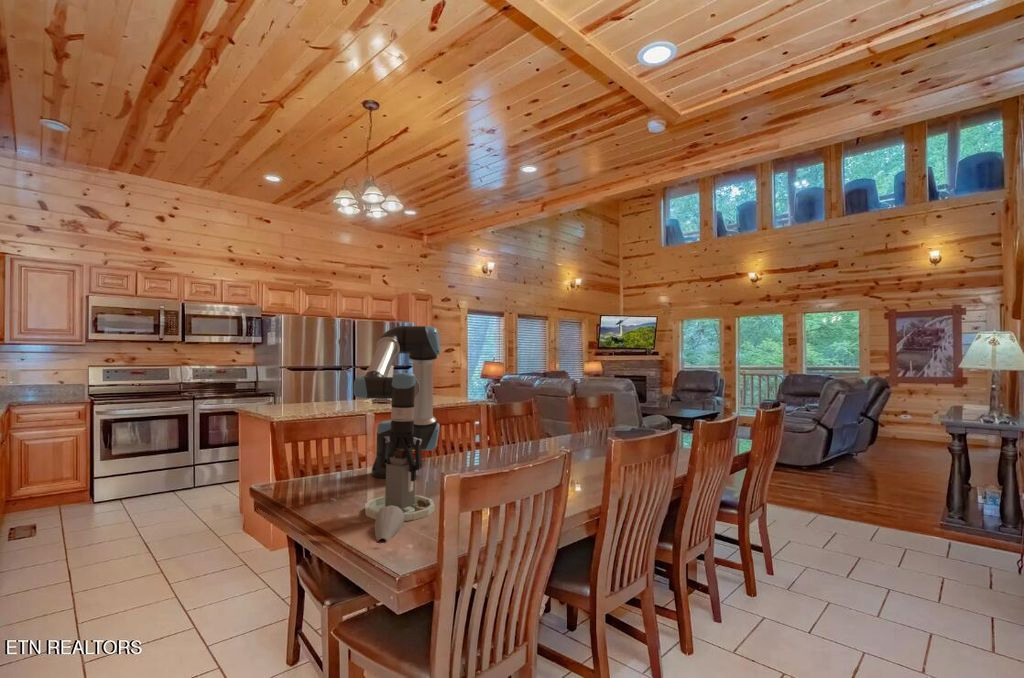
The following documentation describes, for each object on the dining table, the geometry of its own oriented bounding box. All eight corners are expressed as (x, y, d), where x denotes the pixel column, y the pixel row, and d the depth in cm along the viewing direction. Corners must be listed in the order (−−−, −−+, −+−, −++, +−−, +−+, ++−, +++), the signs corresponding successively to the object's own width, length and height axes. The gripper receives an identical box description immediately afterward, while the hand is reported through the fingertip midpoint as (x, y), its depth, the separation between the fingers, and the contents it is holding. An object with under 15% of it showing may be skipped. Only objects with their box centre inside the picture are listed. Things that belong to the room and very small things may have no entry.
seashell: (391, 559, 150) (401, 510, 161) (407, 547, 143) (416, 496, 154) (363, 552, 147) (375, 502, 158) (378, 539, 140) (389, 488, 150)
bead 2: (416, 512, 167) (417, 506, 167) (425, 513, 167) (425, 507, 167) (413, 515, 165) (413, 508, 165) (421, 516, 164) (421, 509, 164)
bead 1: (419, 504, 176) (419, 498, 176) (427, 505, 175) (427, 499, 175) (416, 507, 173) (416, 501, 173) (423, 507, 173) (424, 501, 173)
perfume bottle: (385, 506, 168) (386, 450, 168) (398, 500, 174) (400, 447, 174) (401, 509, 165) (403, 452, 165) (414, 504, 171) (416, 449, 171)
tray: (384, 501, 182) (384, 492, 183) (442, 507, 178) (443, 497, 178) (352, 521, 161) (352, 510, 161) (417, 528, 156) (418, 517, 156)
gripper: (370, 419, 169) (368, 490, 168) (425, 422, 164) (423, 495, 164) (381, 416, 176) (378, 484, 175) (434, 419, 172) (432, 489, 171)
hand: (400, 489), depth 170 cm, fingers closed on perfume bottle, 6 cm apart
